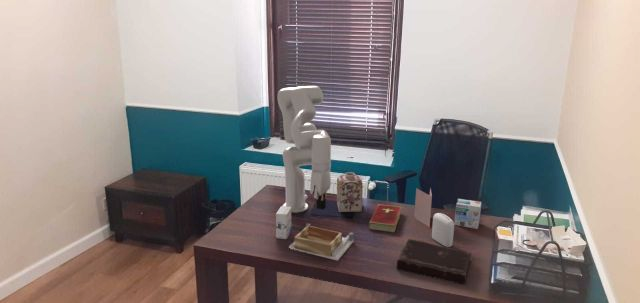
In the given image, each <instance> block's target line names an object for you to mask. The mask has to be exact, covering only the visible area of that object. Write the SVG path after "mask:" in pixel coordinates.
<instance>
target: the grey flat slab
mask: <svg viewBox="0 0 640 303" xmlns="http://www.w3.org/2000/svg"><path fill="white" fill-rule="evenodd" d="M308 225H309V226H312V225H311V223H309V222H307V223H306V224H305V227H306V226H308ZM354 235H355V233H354V232H349V233H348V235H346V237H344V236H342V242H341V244H340V245H339V246H338V247H337V248H336V249H335V250H334V251H333V253H332V256H331V257H328V256H324V255H320V254H316V253H312V252H308V251H304V250H300V249H296V248H295V240H293V242H292V243H291V244H290V245H288V249H289V248H290V250H293V249H294V251H297V250H298V252H301V253H305V252H306V254H309V255H314V256H317V257H322V258H325V259H330V260H334V261H339V260H340V259H341V257H342V256H343V255H344V254H345V252H347V250H348V249H349V248H350V247H351V246H352V244H353V243H354V238H355V237H354Z"/></svg>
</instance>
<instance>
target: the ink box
mask: <svg viewBox="0 0 640 303" xmlns="http://www.w3.org/2000/svg"><path fill="white" fill-rule="evenodd" d="M291 232H292V212H291V207H287V206H283V205H281V206H280V207H279V209H278V210H277V212H276V213H275V238H276V239H281V240H287V239H288V237H289V236H290V234H291Z"/></svg>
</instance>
